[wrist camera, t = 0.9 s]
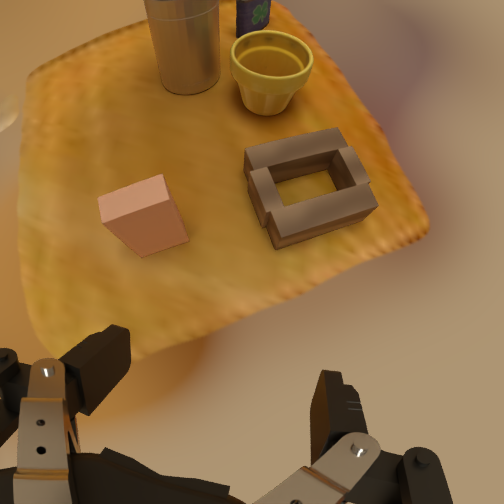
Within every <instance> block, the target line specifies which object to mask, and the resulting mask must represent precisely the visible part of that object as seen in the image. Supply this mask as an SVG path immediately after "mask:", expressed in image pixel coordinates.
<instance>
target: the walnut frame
mask: <svg viewBox="0 0 504 504" xmlns="http://www.w3.org/2000/svg"><path fill="white" fill-rule="evenodd" d="M326 169H327V170H328V172H329V174H330V176H331V178H332V180H333V182H334V184H335V186H336V188H337V190H338V191H336V192H332V193H329V194H326V195H322V196H319V197H315V198H312V199H309V200H305V201H302V202H299V203H295V204H292V205H289V206H286V207H284V205H283V203H282V200H281V198H280V195H279V193H278V191H277V188H276V186H275V184H274V183H278V182H282V181H285V180H289V179H292V178H296V177H300V176H303V175H307V174H311V173H314V172H318V171H322V170H326ZM244 172H245V175H246V177H247V180H248V182H249V184H248V193H249V196H250V198H251V201H252V204H253V206H254V209H255V211H256V214H257V216H258V219H259V222H260V224H261V227H262V228H264V227H266V228H267V231H268V233H269V236H270V238H271V241H272V244H273V246H274V249H275V250H278V249H281V248H284V247H286V246H289V245H292V244H295V243H298V242H301V241H304V240H307V239H310V238H313V237H316V236H319V235H322V234H325V233H328V232H331V231H333V230H336V229H339V228H342V227H345V226H348V225H351V224H354V223H357V222H360V221H363V220H364V219H365V218H366V217H367V216H368V215H369V214H370V213H371V212H372V211H373V210H375V209H376V208H377V207H378V206H379V205H378V203H377V201H376V199H375V197H374V195H373V193H372V191H371V189H370V187H369V185H368V184H369V183H370V182H371V181H370V179H369V177H368V175H367V173H366V171H365V169H364V167H363V165H362V163H361V162H360V160H359V158H358V156H357V154H356V152H355V151H354V149H353V147H352V146H350V147H348V145H347V143H346V141H345V139H344V138H343V136H342V134H341V132H340V131H339V129H338V127H337V128H332V129H326V130H321V131H317V132H312V133H307V134H302V135H298V136H293V137H289V138H285V139H281V140H276V141H272V142H268V143H264V144H260V145H256V146H252V147H249V148H245V155H244Z"/></svg>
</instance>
